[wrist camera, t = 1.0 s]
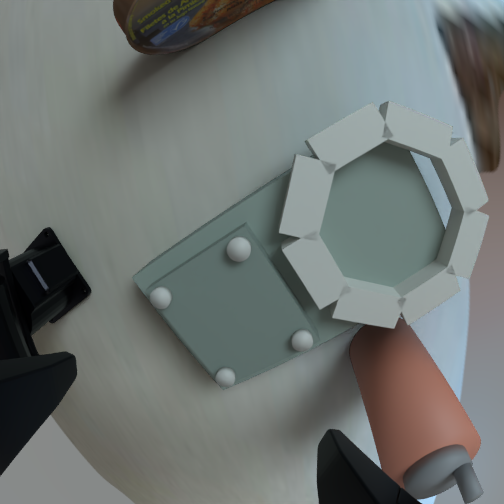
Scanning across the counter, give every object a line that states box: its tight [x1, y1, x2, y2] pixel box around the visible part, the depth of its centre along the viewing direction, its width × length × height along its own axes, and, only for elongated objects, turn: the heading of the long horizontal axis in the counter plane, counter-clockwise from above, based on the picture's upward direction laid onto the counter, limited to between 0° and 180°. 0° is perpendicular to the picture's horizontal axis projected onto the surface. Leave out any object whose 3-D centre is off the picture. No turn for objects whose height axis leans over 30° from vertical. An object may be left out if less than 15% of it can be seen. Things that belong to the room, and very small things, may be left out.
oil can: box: [349, 318, 483, 504], centre depth 15 cm, size 5×5×15 cm
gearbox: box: [132, 101, 489, 390], centre depth 18 cm, size 21×12×5 cm, turn 123°
